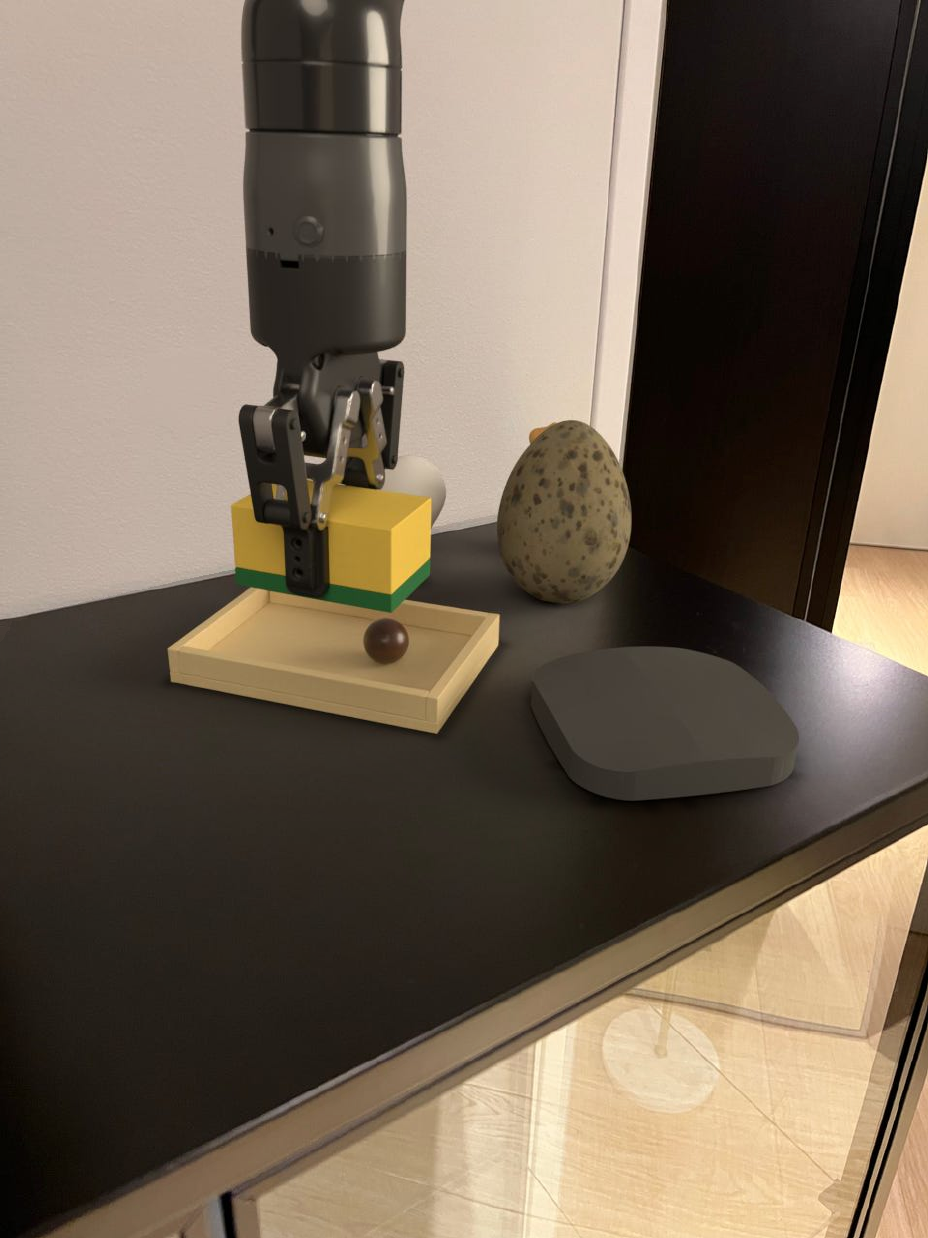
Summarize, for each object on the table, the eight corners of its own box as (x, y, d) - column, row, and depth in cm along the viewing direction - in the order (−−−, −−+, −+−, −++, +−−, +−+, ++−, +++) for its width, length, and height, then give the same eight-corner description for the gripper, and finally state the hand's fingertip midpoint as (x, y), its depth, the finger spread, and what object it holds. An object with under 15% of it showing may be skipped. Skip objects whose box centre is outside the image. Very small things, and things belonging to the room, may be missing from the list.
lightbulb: (458, 585, 87) (461, 460, 82) (396, 600, 84) (396, 471, 79) (420, 562, 91) (421, 442, 87) (360, 576, 88) (358, 452, 84)
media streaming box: (582, 813, 57) (586, 768, 56) (516, 689, 70) (518, 651, 69) (817, 788, 60) (826, 744, 59) (713, 673, 73) (718, 636, 72)
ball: (356, 667, 71) (355, 625, 70) (374, 648, 74) (373, 608, 73) (398, 674, 70) (398, 633, 69) (415, 655, 73) (415, 614, 72)
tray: (170, 682, 70) (166, 648, 69) (266, 606, 82) (264, 576, 81) (437, 734, 65) (437, 698, 64) (498, 645, 77) (499, 614, 75)
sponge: (235, 585, 54) (230, 504, 52) (285, 550, 59) (282, 475, 57) (391, 613, 52) (391, 529, 50) (430, 574, 56) (432, 497, 54)
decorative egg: (644, 620, 81) (663, 435, 75) (514, 631, 79) (523, 441, 73) (597, 570, 91) (611, 402, 84) (480, 578, 88) (485, 406, 82)
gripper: (323, 226, 55) (330, 521, 62) (169, 246, 43) (200, 611, 50) (453, 234, 53) (445, 539, 60) (331, 258, 41) (339, 638, 48)
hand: (334, 570), depth 55 cm, fingers closed on sponge, 5 cm apart
